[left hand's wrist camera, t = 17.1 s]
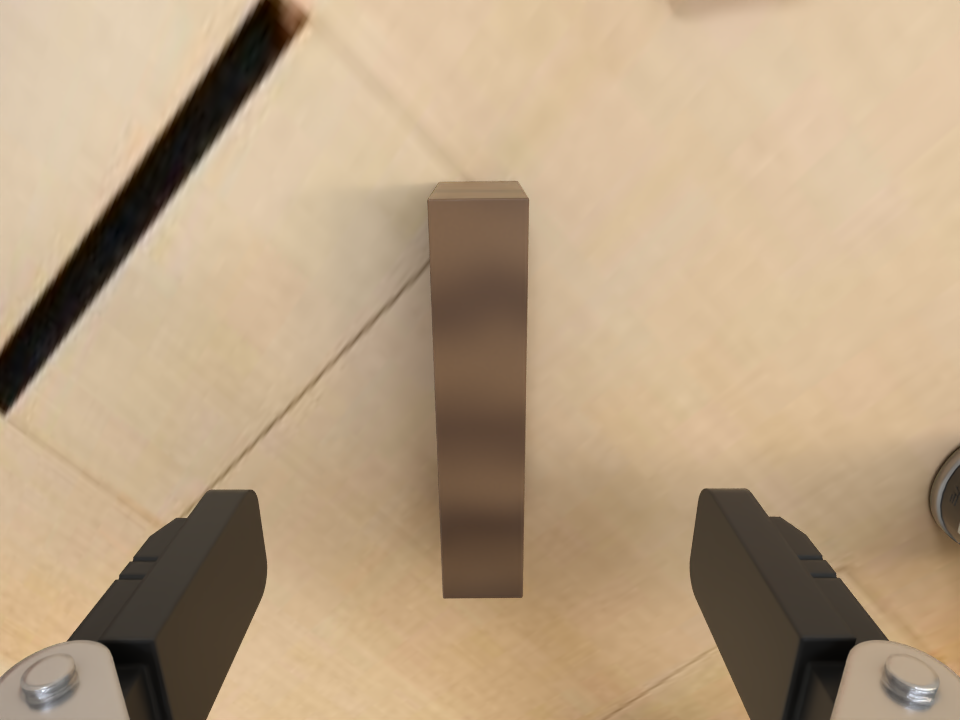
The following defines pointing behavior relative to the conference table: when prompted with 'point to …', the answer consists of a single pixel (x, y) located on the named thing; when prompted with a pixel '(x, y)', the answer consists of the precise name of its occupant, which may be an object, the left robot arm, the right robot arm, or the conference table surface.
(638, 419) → the conference table surface
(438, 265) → the bar
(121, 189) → the conference table surface
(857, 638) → the left robot arm
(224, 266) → the conference table surface
